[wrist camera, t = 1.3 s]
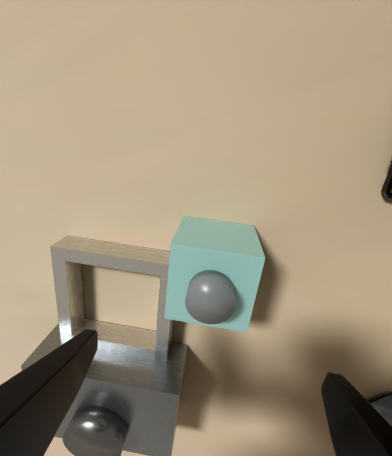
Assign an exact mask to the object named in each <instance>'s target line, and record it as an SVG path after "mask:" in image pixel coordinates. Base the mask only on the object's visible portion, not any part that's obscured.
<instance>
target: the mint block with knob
mask: <svg viewBox="0 0 392 456" xmlns="http://www.w3.org/2000/svg"><path fill="white" fill-rule="evenodd" d="M264 262H265V255H264V252H263V249H262V247H261V244H260V241H259V238H258V235H257V233H256V230H255V227H254V225H247V224H240V223H233V222H225V221H218V220H211V219H204V218H197V217H190V216H184V218H183V220H182V222H181V224H180V226H179V228H178V230H177V232H176V234H175V236H174V238H173V240H172V242H171V246H170V258H169V270H168V282H167V293H166V305H165V317H164V318H165V319H171V320H177V321H183V322H189V323H195V324H201V325H207V326H213V327H219V328H225V329H231V330H237V331H243V332H247V331H248V327H249V323H250V319H251V315H252V311H253V306H254V302H255V298H256V294H257V290H258V286H259V282H260V278H261V274H262V270H263V266H264Z"/></svg>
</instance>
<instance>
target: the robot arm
mask: <svg viewBox="0 0 392 456" xmlns="http://www.w3.org/2000/svg"><path fill="white" fill-rule="evenodd" d="M391 162H392V161H391ZM391 188H392V165H391V168H390V170H389V173H388V175H387V178H386V180H385V183H384V185H383V188H382V193H383V195H384V196H386V197H389V198H392V193H391V192H390V190H391ZM97 348H98V335H97V331H96V330H94V329H85V330H83V331H82V332H80V333H79V334H77V335H76V336H74V337H73V338H71V339H70V340H68V341H67V342H65V343H64V344H62V345H61V346H59V347H57V348H56V349H54V350H53V351H51V352H50V353H48V354H47V355H45V356H44V357H42V358H41V359H39V360H38V361H36V362H35V363H33V364H32V365H30V366H29V367H27V368H26V369H24V370H23V371H21V372H20V373H18V374H17V375H15V376H14V377H12V378H10V379H9V380H7V381H6V382H4V383H3V384H1V385H0V456H44V454H45V452H46V450H47V448H48V447H49V445H50V443H51V441H52V439H53V438H54V436H55V434H56V432H57V430H58V429H59V427H60V425H61V423H62V421H63V420H64V418H65V416H66V414H67V412H68V411H69V409H70V407H71V405H72V403H73V402H74V400H75V398H76V396H77V394H78V392H79V390H80V388H81V386H82V384H83V381H84V379H85V377H86V374H87V372H88V370H89V368H90V365H91V363H92V361H93V358H94V356H95V354H96V352H97ZM321 392H322V398H323V402H324V407H325V412H326V416H327V421H328V426H329V430H330V435H331V439H332V443H333V446H334V450H335V453H336V456H392V426H391V425H390V424H389V423H388V422H387V421H386V420H385V418H384V417H383V416H382V415H381V414H380V413H379V412H378V411H377V410H376V409H375V408H374V407H373V406H372V405H371V404H370V403H369V402H368V401H367V400H366V399H365V398H364V397H363V396H362V395H361V394H360V393H359V392H358V391H357V390H356V389H355V388H354V387H353V386H352V385H351V384H350V383H349V382H348V381H347V379H346V378H345V377H344V376H343V375H341V374H340V373H335V372H328V373H327V375H326V378H325V380H324V382H323V384H322V388H321Z"/></svg>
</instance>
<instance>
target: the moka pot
mask: <svg viewBox="0 0 392 456" xmlns="http://www.w3.org/2000/svg"><path fill="white" fill-rule="evenodd" d="M370 404H371V405H372V406H373V407H374V408H375V409H376V410H377V411H378V412H379V413H380V414H381V415H382V416H383V417H384V418H385V420H386V421H387V422H388V423H389V424H390V425H391V426H392V395H388V396H386V397H384V398H382V399H379V400H377V401H375V402H372V403H370Z"/></svg>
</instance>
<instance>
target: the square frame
mask: <svg viewBox="0 0 392 456" xmlns="http://www.w3.org/2000/svg"><path fill="white" fill-rule="evenodd" d="M50 248H51V257H52V266H53V275H54V284H55V293H56V301H57V310H58V319H59V323H58V325H57V326H56V327H55V328H54V329H53V330H52V331H51V332H50V334H49V335H48V336H47V337H46V338H45V339H44V340H43V342H42V343H41V344H40V345H39V346H38V347H37V348H36V349H35V351H34V352H33V353H32V354H31V355H30V356H29V357H28V359H27V360H26V361H25V362H24V363H23V364H22V365H21V368H22V371H23V370H24V369H26V368H27V367H29V366H30V365H32V364H33V363H35V362H36V361H38V360H39V359H41V358H42V357H44V356H45V355H47V354H48V353H50V352H51V351H53V350H54V349H56V348H57V347H59V346H61V345H62V344H64V343H65V342H67V341H68V340H70V339H71V338H73V337H74V336H76V335H77V334H79V333H80V332H82V331H83V330H85V329H94V330H96V331H97V335H98V348H97V352H96V354H95V356H94V358H93V361H92V363H91V365H90V368H89V370H88V372H87V374H86V377H85V379H84V381H83V384H82V386H81V388H80V390H79V392H78V394H77V396H76V398H75V400H74V402H73V403H72V405H71V407H70V409H69V411H68V412H67V414H66V416H65V418H64V420H63V421H62V423H61V425H60V427H59V429H58V430H57V432H56V434H55V437H60V438H63V443H64V445H65V447H66V448H67V449H68V450H69V451H70V452H71V453H72V454H73V455H75V456H121V453H122V450H124V451H129V452H134V453H139V454H144V455H149V456H171V454H172V448H173V442H174V436H175V430H176V423H177V417H178V411H179V405H180V398H181V390H182V383H183V376H184V368H185V361H186V354H187V347H188V345H184V344H178V343H172V342H171V339H172V330H173V320H171V319H165V318H164V317H165V305H166V293H167V282H168V270H169V258H170V251H164V250H158V249H151V248H145V247H138V246H131V245H125V244H118V243H112V242H105V241H99V240H92V239H86V238H79V237H73V236H66V237H64V238H63V239H61V240H60V241H58V242H57V243H55V244H53V245H52V246H50ZM81 264H87V265H93V266H100V267H106V268H112V269H119V270H125V271H131V272H137V273H144V274H150V275H156V276H160V289H159V303H158V317H157V330H156V331H153V330H148V329H142V328H136V327H130V326H124V325H119V324H113V323H107V322H101V321H95V320H89V319H85V316H84V300H83V284H82V268H81Z"/></svg>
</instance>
